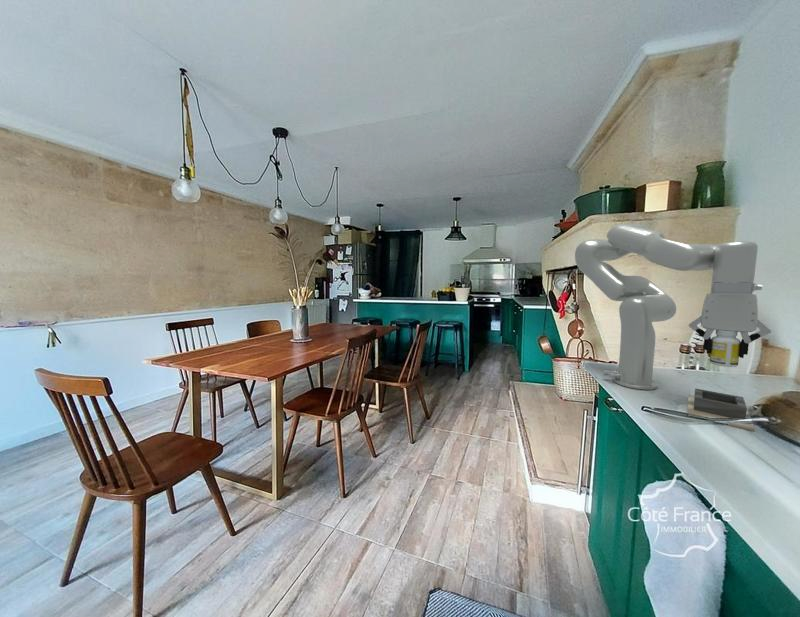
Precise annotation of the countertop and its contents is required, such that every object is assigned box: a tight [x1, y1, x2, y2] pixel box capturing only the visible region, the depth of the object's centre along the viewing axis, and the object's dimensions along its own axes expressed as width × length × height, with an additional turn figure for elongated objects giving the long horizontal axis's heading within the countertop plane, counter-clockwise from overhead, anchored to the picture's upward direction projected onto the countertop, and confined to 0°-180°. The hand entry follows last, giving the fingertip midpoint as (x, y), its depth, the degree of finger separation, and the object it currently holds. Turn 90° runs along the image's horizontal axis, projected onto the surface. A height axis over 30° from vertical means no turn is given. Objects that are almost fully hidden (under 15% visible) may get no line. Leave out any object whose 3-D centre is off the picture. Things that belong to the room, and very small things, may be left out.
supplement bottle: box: [709, 330, 741, 368], centre depth 81 cm, size 5×5×10 cm
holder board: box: [686, 388, 755, 432], centre depth 83 cm, size 16×12×4 cm
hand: (724, 354), depth 81 cm, fingers closed on supplement bottle, 5 cm apart
